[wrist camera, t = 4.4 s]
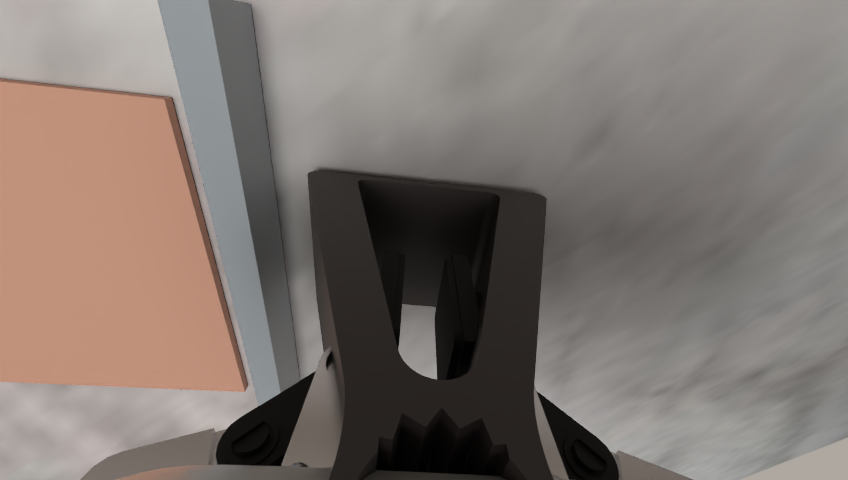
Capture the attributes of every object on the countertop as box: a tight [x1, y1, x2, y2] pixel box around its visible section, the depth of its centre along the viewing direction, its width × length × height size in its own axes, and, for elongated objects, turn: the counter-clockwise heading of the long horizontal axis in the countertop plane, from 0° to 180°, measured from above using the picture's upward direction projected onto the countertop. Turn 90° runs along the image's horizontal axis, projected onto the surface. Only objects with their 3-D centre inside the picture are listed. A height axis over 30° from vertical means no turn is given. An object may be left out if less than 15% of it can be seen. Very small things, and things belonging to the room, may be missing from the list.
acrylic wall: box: [158, 0, 300, 406], centre depth 15 cm, size 1×22×2 cm, turn 174°
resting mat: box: [0, 79, 248, 392], centre depth 15 cm, size 13×16×1 cm
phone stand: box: [308, 171, 554, 480], centre depth 9 cm, size 9×6×12 cm, turn 83°
